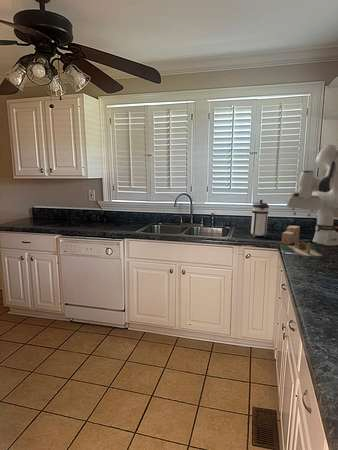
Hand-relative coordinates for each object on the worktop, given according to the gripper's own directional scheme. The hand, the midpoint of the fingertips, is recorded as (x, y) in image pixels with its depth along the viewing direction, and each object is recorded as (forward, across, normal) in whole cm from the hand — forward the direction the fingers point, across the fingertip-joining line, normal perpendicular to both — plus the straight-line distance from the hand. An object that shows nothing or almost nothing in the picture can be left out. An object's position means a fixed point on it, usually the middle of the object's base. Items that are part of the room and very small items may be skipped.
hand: (301, 215), depth 207 cm
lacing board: (+24, -4, +2) cm, 25 cm away
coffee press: (+22, +21, -43) cm, 53 cm away
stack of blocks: (+23, -1, -23) cm, 33 cm away
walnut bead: (+22, -3, -4) cm, 23 cm away
